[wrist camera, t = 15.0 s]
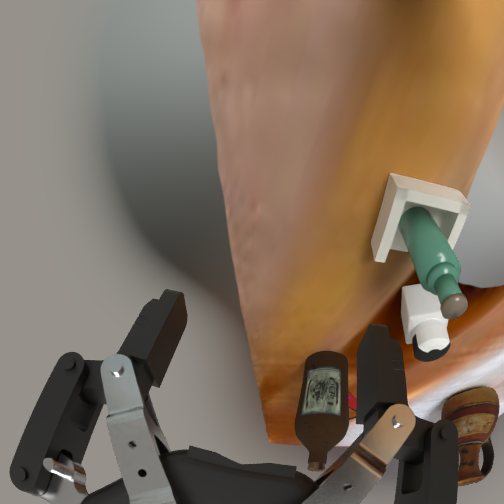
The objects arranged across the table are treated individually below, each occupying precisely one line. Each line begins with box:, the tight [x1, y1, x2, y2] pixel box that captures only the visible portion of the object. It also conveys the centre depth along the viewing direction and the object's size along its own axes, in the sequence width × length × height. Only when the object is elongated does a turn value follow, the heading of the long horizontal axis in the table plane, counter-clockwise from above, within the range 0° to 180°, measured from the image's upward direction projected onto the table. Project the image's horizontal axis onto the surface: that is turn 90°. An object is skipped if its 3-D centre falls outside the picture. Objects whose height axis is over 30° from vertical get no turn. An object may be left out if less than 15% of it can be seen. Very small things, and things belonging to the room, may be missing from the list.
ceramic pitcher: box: [441, 387, 499, 486], centre depth 51 cm, size 20×20×30 cm
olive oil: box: [295, 351, 349, 471], centre depth 51 cm, size 11×11×25 cm
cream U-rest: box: [371, 173, 471, 263], centre depth 35 cm, size 11×11×4 cm
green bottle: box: [399, 207, 468, 319], centre depth 30 cm, size 5×5×16 cm
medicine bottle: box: [401, 284, 450, 362], centre depth 40 cm, size 7×7×12 cm
